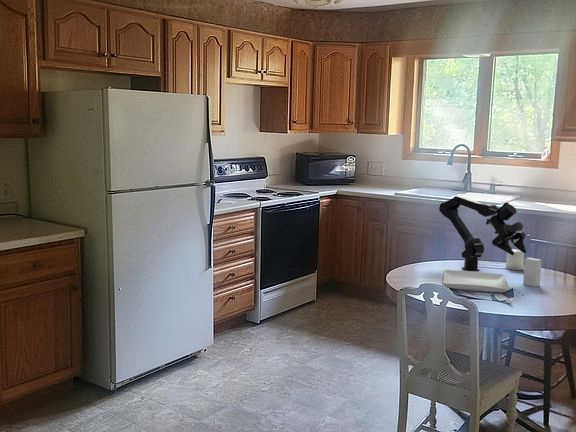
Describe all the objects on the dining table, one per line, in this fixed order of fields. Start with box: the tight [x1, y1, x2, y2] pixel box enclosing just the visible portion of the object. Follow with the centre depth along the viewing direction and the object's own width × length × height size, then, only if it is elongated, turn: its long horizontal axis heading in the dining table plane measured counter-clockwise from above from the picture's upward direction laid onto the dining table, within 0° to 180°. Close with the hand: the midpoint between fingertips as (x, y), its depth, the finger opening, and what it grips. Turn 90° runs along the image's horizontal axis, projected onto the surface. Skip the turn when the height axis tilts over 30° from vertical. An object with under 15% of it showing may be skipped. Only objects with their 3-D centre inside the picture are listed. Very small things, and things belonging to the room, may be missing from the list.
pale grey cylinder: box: [505, 248, 525, 271], centre depth 300 cm, size 8×8×9 cm
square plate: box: [442, 269, 510, 293], centre depth 264 cm, size 27×27×4 cm
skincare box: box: [522, 257, 542, 288], centre depth 267 cm, size 6×4×12 cm
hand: (519, 253), depth 272 cm, fingers open, 9 cm apart
